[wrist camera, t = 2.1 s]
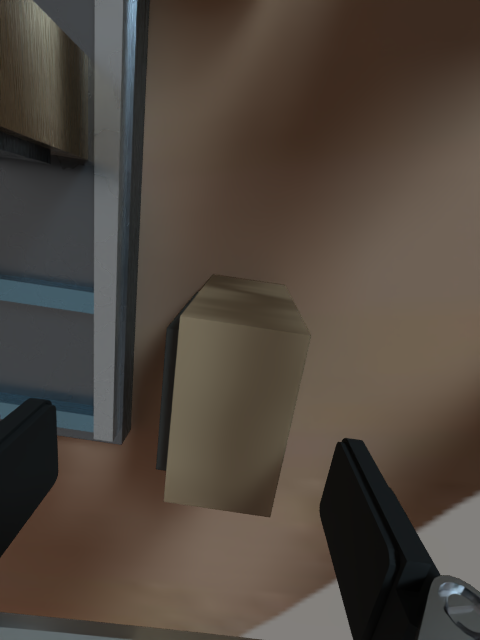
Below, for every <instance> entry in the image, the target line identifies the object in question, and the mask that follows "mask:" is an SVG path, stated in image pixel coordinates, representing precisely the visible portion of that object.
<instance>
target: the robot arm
mask: <svg viewBox="0 0 480 640" xmlns="http://www.w3.org/2000/svg"><path fill="white" fill-rule="evenodd" d="M57 476H58V449H57V416H56V407H55V406H54V405H52V403H51V401H50V400H45V399H38V398H29V399H27V400H26V401H25V402H23V403H22V404H21V405H20V406H18V407H17V408H16V409H15V410H14V411H12V412H11V413H10V414H9V415H7V416H6V417H5V418H4V419H2V420H1V421H0V557H1V556H2V555H3V553H4V552H5V550H6V549H7V548H8V546H9V545H10V544H11V542H12V541H13V539H14V538H15V537H16V535H17V534H18V533H19V531H20V530H21V529H22V527H23V526H24V524H25V523H26V522H27V520H28V519H29V518H30V516H31V515H32V514H33V512H34V511H35V509H36V508H37V507H38V505H39V504H40V503H41V501H42V500H43V499H44V497H45V496H46V494H47V493H48V492H49V490H50V489H51V488H52V486H53V485H54V483H55V481H56V479H57ZM320 517H321V521H322V525H323V529H324V532H325V536H326V540H327V543H328V547H329V551H330V555H331V558H332V562H333V566H334V570H335V573H336V577H337V581H338V585H339V588H340V592H341V596H342V600H343V603H344V607H345V610H346V615H347V618H348V622H349V626H350V629H351V633H352V637H353V640H480V592H479V591H478V590H476V589H475V588H474V587H472V586H471V585H470V584H468V583H466V582H464V581H462V580H461V579H459V578H455V577H452V576H448V575H440V573H439V571H438V570H437V568H436V566H435V565H434V563H433V561H432V559H431V557H430V556H429V554H428V552H427V550H426V549H425V547H424V545H423V543H422V542H421V540H420V538H419V536H418V534H417V533H416V531H415V529H414V527H413V526H412V524H411V522H410V520H409V519H408V517H407V515H406V513H405V512H404V510H403V508H402V506H401V505H400V503H399V501H398V499H397V497H396V496H395V494H394V492H393V491H392V490H391V488H389V487H388V485H387V483H386V481H385V480H384V478H383V476H382V474H381V472H380V471H379V469H378V467H377V465H376V464H375V462H374V460H373V458H372V456H371V455H370V453H369V451H368V449H367V447H366V446H365V444H364V442H363V441H362V440H356V439H348V438H344V439H343V440H342V442H338V443H337V445H336V448H335V451H334V455H333V459H332V462H331V466H330V470H329V473H328V477H327V480H326V484H325V488H324V491H323V495H322V498H321V502H320ZM0 640H259V639H251V638H243V637H234V636H225V635H216V634H207V633H198V632H188V631H179V630H170V629H160V628H151V627H142V626H132V625H123V624H113V623H104V622H94V621H85V620H75V619H65V618H54V617H44V616H34V615H24V614H14V613H4V612H0Z"/></svg>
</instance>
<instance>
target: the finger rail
mask: <svg viewBox="0 0 480 640" xmlns="http://www.w3.org/2000/svg"><path fill="white" fill-rule="evenodd" d="M149 3H150V0H0V421H1V420H2V419H4V418H5V417H6V416H7V415H9V414H10V413H11V412H12V411H14V410H15V409H16V408H17V407H18V406H20V405H21V404H22V403H23V402H25V401H26V400H27V399H29V398H38V399H45V400H50V401H51V403H52V405H54V406H55V407H56V416H57V435H59V436H66V437H72V438H79V439H86V440H93V441H100V442H106V443H113V444H120V445H122V443H123V442H124V440H125V438H126V436H127V435H128V433H129V431H130V430H131V408H132V386H133V363H134V341H135V318H136V296H137V273H138V251H139V228H140V206H141V183H142V160H143V138H144V115H145V93H146V70H147V48H148V25H149Z"/></svg>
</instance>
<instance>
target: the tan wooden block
mask: <svg viewBox="0 0 480 640" xmlns="http://www.w3.org/2000/svg"><path fill="white" fill-rule="evenodd" d="M310 338H311V334H310V332H309V330H308V329H307V327H306V325H305V323H304V321H303V319H302V317H301V315H300V313H299V311H298V309H297V307H296V305H295V304H294V302H293V300H292V298H291V296H290V294H289V292H288V290H287V288H286V286H285V285H282V284H275V283H268V282H261V281H255V280H248V279H241V278H235V277H228V276H221V275H215V274H213V275H212V277H211V278H210V279H209V280H208V282H207V283H206V284H205V285H204V287H203V288H202V289H201V290H200V292H196V294H195V295H194V296H193V297H192V299H191V300H190V301H189V302H188V303H187V305H186V306H185V307H184V308H183V309H182V311H181V312H180V313H179V314H178V315H177V317H176V318H175V319H174V320H173V321H172V323H171V324H170V325H169V326H168V327H167V333H166V346H165V359H164V372H163V385H162V398H161V411H160V424H159V438H158V451H157V464H156V469H158V470H165V471H166V480H165V491H164V502H169V503H175V504H182V505H189V506H196V507H203V508H210V509H216V510H223V511H230V512H237V513H244V514H250V515H257V516H264V517H270V516H271V511H272V507H273V502H274V498H275V494H276V489H277V485H278V480H279V476H280V471H281V467H282V462H283V458H284V454H285V449H286V445H287V440H288V436H289V431H290V427H291V423H292V418H293V414H294V409H295V405H296V400H297V396H298V392H299V387H300V383H301V378H302V374H303V369H304V365H305V360H306V356H307V352H308V347H309V343H310Z"/></svg>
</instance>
